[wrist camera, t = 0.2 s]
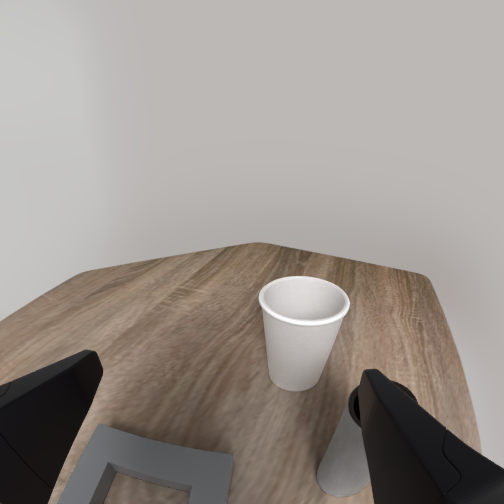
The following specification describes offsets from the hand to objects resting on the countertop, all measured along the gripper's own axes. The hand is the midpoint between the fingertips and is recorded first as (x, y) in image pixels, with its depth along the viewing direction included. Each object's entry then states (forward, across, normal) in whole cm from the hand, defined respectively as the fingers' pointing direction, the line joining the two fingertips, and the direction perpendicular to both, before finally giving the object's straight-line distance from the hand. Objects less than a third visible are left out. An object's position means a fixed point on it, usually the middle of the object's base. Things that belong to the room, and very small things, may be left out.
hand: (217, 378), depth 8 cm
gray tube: (+5, -7, +17) cm, 19 cm away
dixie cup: (+18, -3, +16) cm, 24 cm away
